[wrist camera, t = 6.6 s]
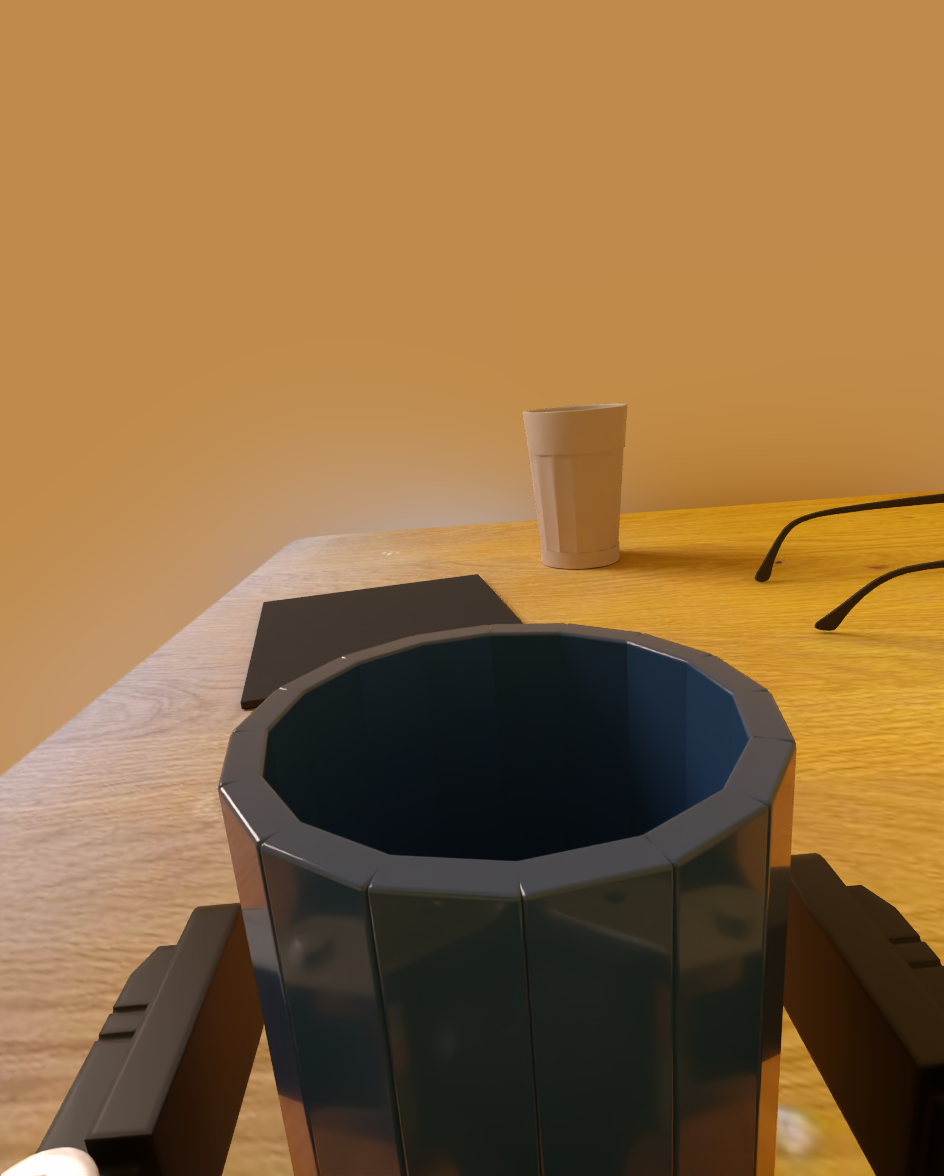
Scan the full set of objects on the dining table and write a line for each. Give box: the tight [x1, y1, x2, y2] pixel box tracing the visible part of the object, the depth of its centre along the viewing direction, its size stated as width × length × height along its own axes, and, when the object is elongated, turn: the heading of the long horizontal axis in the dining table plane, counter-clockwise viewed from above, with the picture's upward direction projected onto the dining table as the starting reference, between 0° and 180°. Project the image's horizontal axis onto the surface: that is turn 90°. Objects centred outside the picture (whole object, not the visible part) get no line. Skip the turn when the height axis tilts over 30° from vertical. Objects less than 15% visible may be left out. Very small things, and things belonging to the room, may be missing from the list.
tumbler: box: [218, 623, 796, 1176], centre depth 10 cm, size 6×6×11 cm
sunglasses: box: [755, 494, 944, 631], centre depth 43 cm, size 16×17×5 cm
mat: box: [241, 574, 523, 709], centre depth 45 cm, size 16×18×1 cm
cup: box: [523, 404, 627, 569], centre depth 57 cm, size 8×8×12 cm
